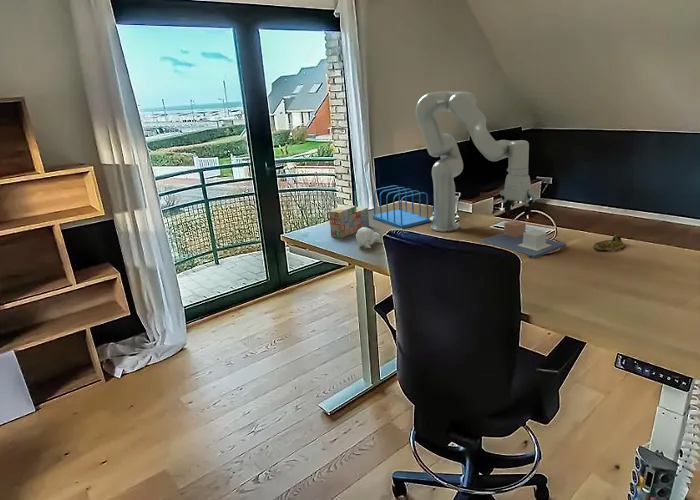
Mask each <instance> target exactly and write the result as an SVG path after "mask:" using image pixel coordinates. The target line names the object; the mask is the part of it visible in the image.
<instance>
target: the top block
mask: <svg viewBox="0 0 700 500" xmlns="http://www.w3.org/2000/svg"><path fill="white" fill-rule="evenodd" d="M503 226H504V227H503V233H504V235H508V236H511V237H515V238H516V237H519V236H522V235H523V233H525V232H526V226H527V224H526V222H524V221H520V220H515V219H514V220H510V221H508V222H504V225H503Z"/></svg>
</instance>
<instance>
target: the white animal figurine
mask: <svg viewBox="0 0 700 500" xmlns="http://www.w3.org/2000/svg"><path fill="white" fill-rule="evenodd" d="M380 236H381V235H380V234H379V233H378V232H374V230H373V229H372V228H369V227H362V228H361V229H359V230H358V231H356V234H355V238H356V241H357V243H358V245H359V247H363V246H364V247H365V248H366V249H371V248H372V246H371V245H372V244H374V243H378V242H379V241H380ZM368 242H369V244H368Z"/></svg>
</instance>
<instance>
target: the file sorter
mask: <svg viewBox="0 0 700 500" xmlns="http://www.w3.org/2000/svg"><path fill="white" fill-rule="evenodd" d="M393 187H394V188H393ZM387 188H388V189H387ZM379 190H382V191H380V193H379V209H380V211H379V212H380V213H378V214H377V213H376V200H375V199H376V198H375V197H376V195H375V194H376V192H377V191H379ZM393 190H394V191H393ZM395 190H396V191H395ZM389 191H390V192H389ZM385 192H388V193H387V195H386V197H385V198H386V199H385V203H386V204H385V205H386V211H384V212H382V211H383V210H382V194H383V193H385ZM401 192H402V193H401ZM415 192H417V193H415ZM395 193H396V194H395ZM391 194H395V195H394V196H393V199H392V204H393V205H392V206H393V210H389V207H388V206H389V203H388V197H389V195H391ZM407 194H409V195H407ZM423 194H424V195H426V216H423V215H422V213H421V212H422V208H421V204H422V203H421V195H423ZM401 195H404V196H403V197H401ZM397 196H398V209H395V205H396V204H395V199H396V197H397ZM414 196H418V205H419V207H418V208H419V214H417V213H414V209H415V208H414ZM372 197H373V212H374V213H373V215H372V219H374V220H376V221H380V222H382V223H383V224H384V223H385V224H387V225H390V226H392V227H396V228H397V229H400V228H402V229H406V228H410V227H414V226H419V225H421V224H423V225H424V224H426V223H430V222H431V221H430V220H429V219H430V218H431V217H429V196H428V193H427V192H423V191H422V192H420V191H419V190H417V189H416V190H412V189H411V188H405V186H399V185H395V184H394V185H389V186H385V187H384V186H382V187H379V188H375V189H374V191H373V196H372ZM409 197H411V204H412V205H411V206H412V207H411V209H412V211H408V207H407V206H408V205H407V204H408V203H407V200H408V199H407V198H409ZM403 200H405V210H404V209H403V205H402V203H403ZM402 229H401V230H402Z"/></svg>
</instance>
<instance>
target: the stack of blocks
mask: <svg viewBox="0 0 700 500" xmlns="http://www.w3.org/2000/svg"><path fill="white" fill-rule="evenodd" d="M328 214H329V215H328V216H329V218H328V219H329V225H330V228H329V229H330V237H333V238H338V239H342V238H344V237H347V236H349V235H352V234H354V233H357V231H358V230H359V229H361V228H362V227H366V228H369V227H370V220H369V219H370V217H369V207H367V206H366V207H365V206H356V205H349V204H344V205H341V206H339V207H337V208H334V209H331V210H329V211H328Z"/></svg>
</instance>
